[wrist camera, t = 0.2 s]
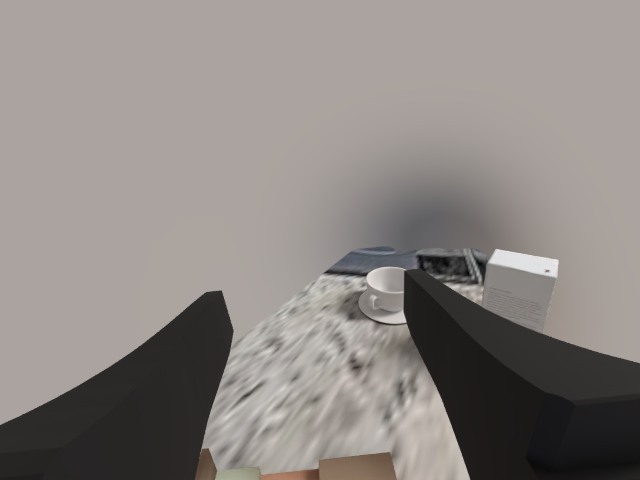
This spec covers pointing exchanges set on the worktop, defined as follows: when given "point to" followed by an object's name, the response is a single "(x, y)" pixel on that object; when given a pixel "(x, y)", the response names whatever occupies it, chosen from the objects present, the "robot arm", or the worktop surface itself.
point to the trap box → (332, 476)
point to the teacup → (384, 295)
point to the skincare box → (520, 287)
